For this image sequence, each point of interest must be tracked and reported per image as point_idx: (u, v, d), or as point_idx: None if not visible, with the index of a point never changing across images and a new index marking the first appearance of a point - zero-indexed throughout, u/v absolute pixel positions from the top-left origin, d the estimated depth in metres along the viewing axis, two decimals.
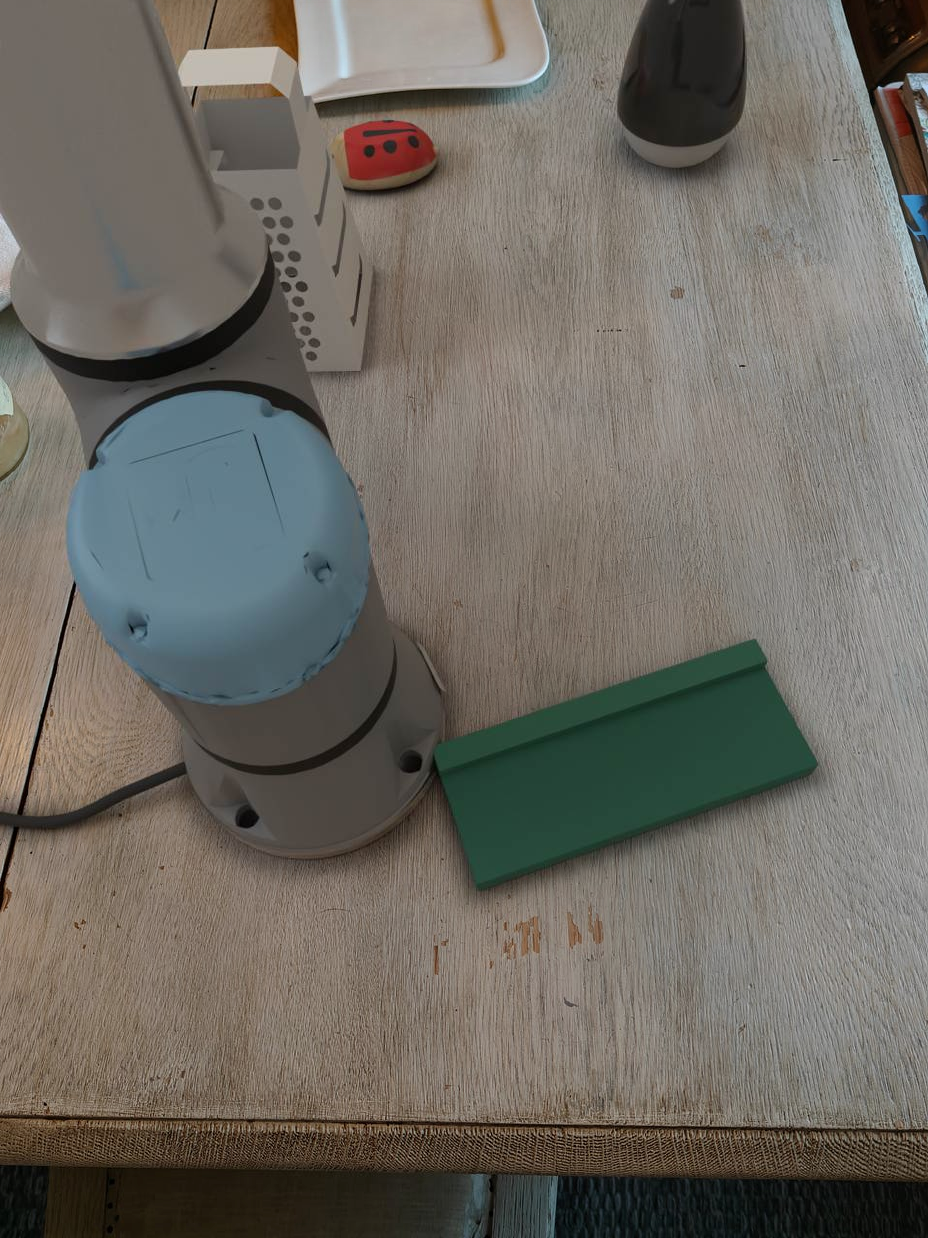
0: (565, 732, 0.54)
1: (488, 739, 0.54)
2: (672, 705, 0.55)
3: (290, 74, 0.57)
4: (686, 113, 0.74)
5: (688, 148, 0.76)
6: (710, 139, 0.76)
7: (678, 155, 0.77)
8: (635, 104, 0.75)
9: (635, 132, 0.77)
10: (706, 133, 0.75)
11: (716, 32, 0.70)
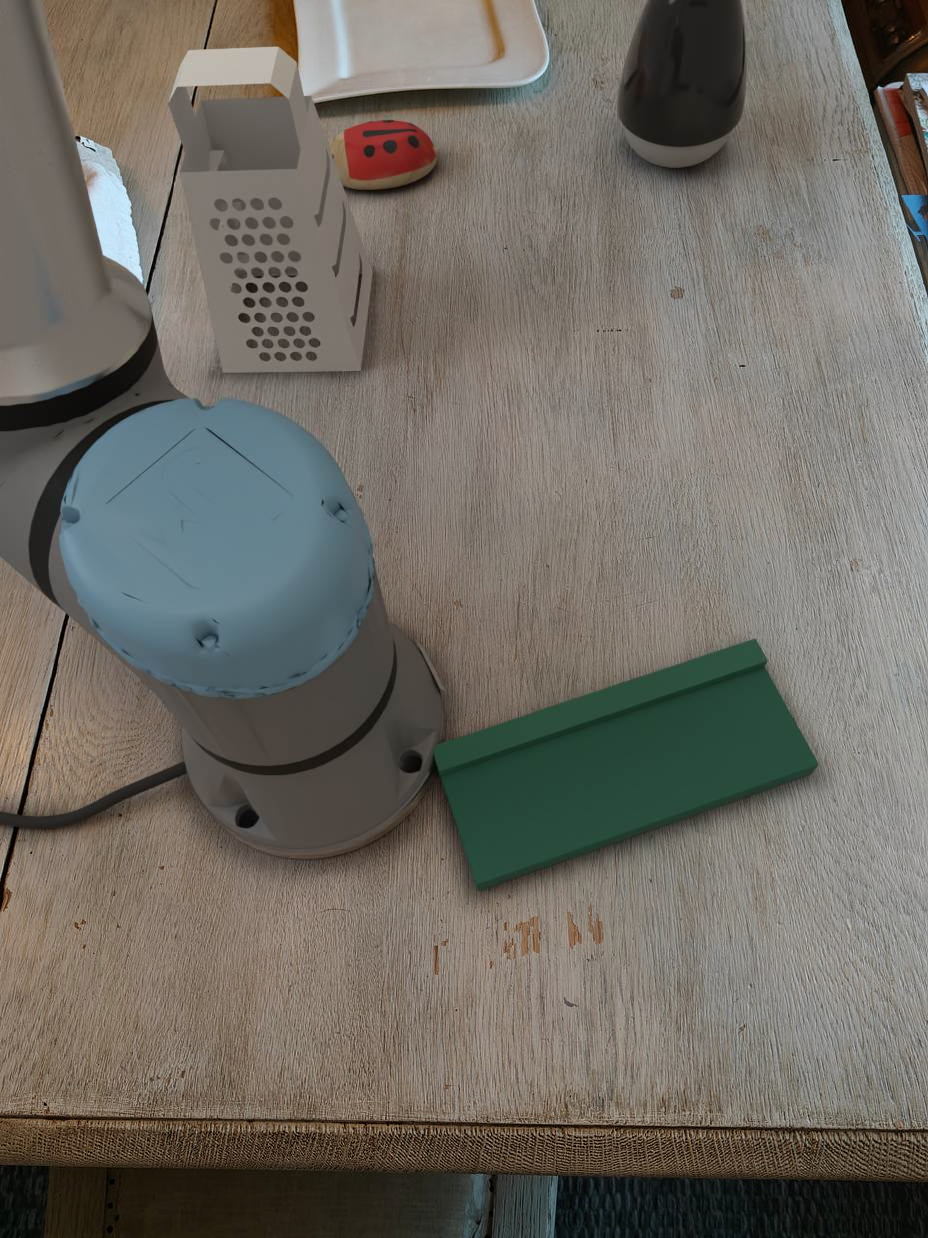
0: (565, 732, 0.54)
1: (488, 739, 0.54)
2: (672, 705, 0.55)
3: (290, 74, 0.57)
4: (686, 113, 0.74)
5: (688, 148, 0.76)
6: (710, 139, 0.76)
7: (678, 155, 0.77)
8: (635, 104, 0.75)
9: (635, 132, 0.77)
10: (706, 133, 0.75)
11: (716, 32, 0.70)
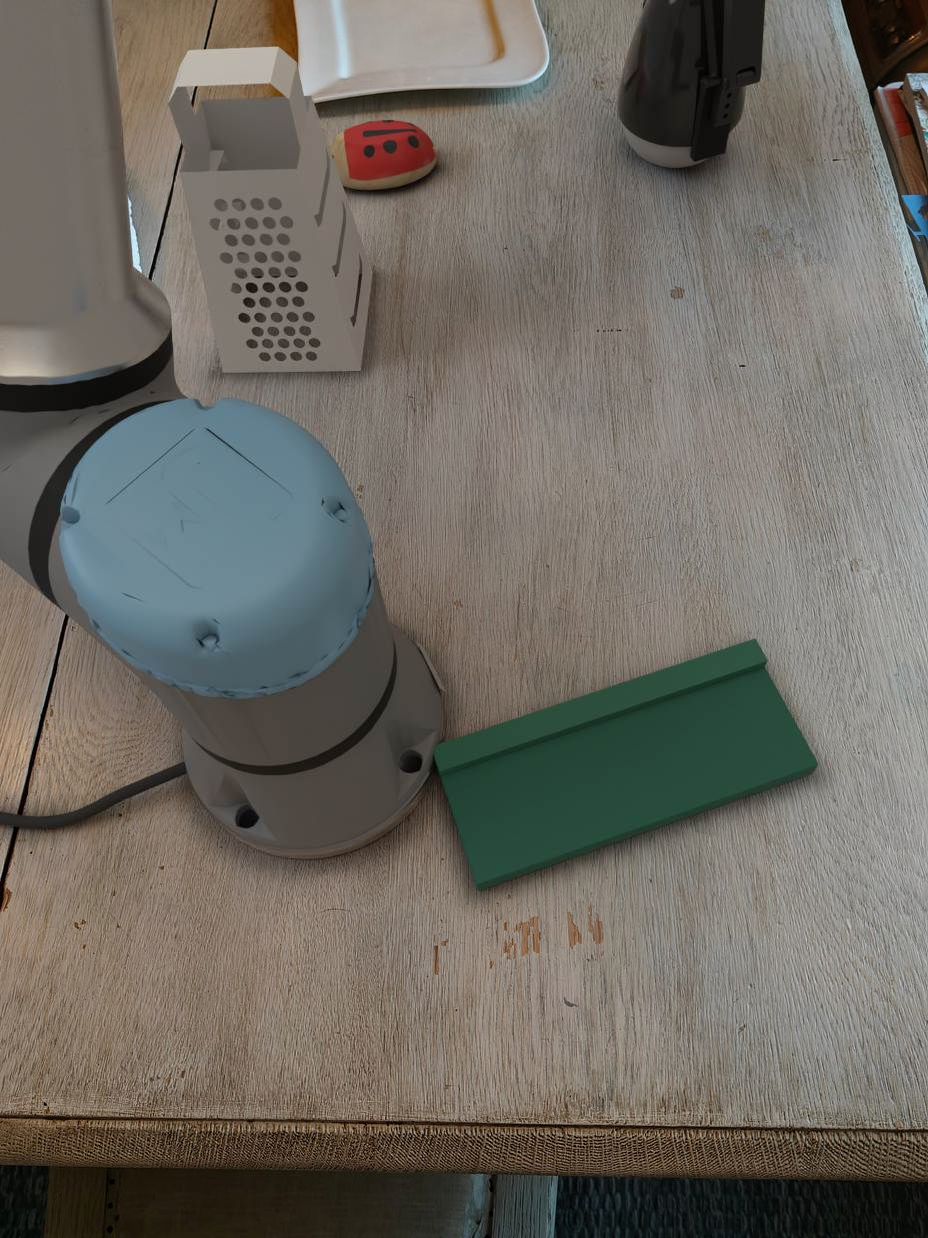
0: (565, 732, 0.54)
1: (488, 739, 0.54)
2: (672, 705, 0.55)
3: (290, 74, 0.57)
4: (686, 113, 0.74)
5: (688, 148, 0.76)
6: None
7: (678, 155, 0.77)
8: (635, 104, 0.75)
9: (635, 132, 0.77)
10: None
11: None
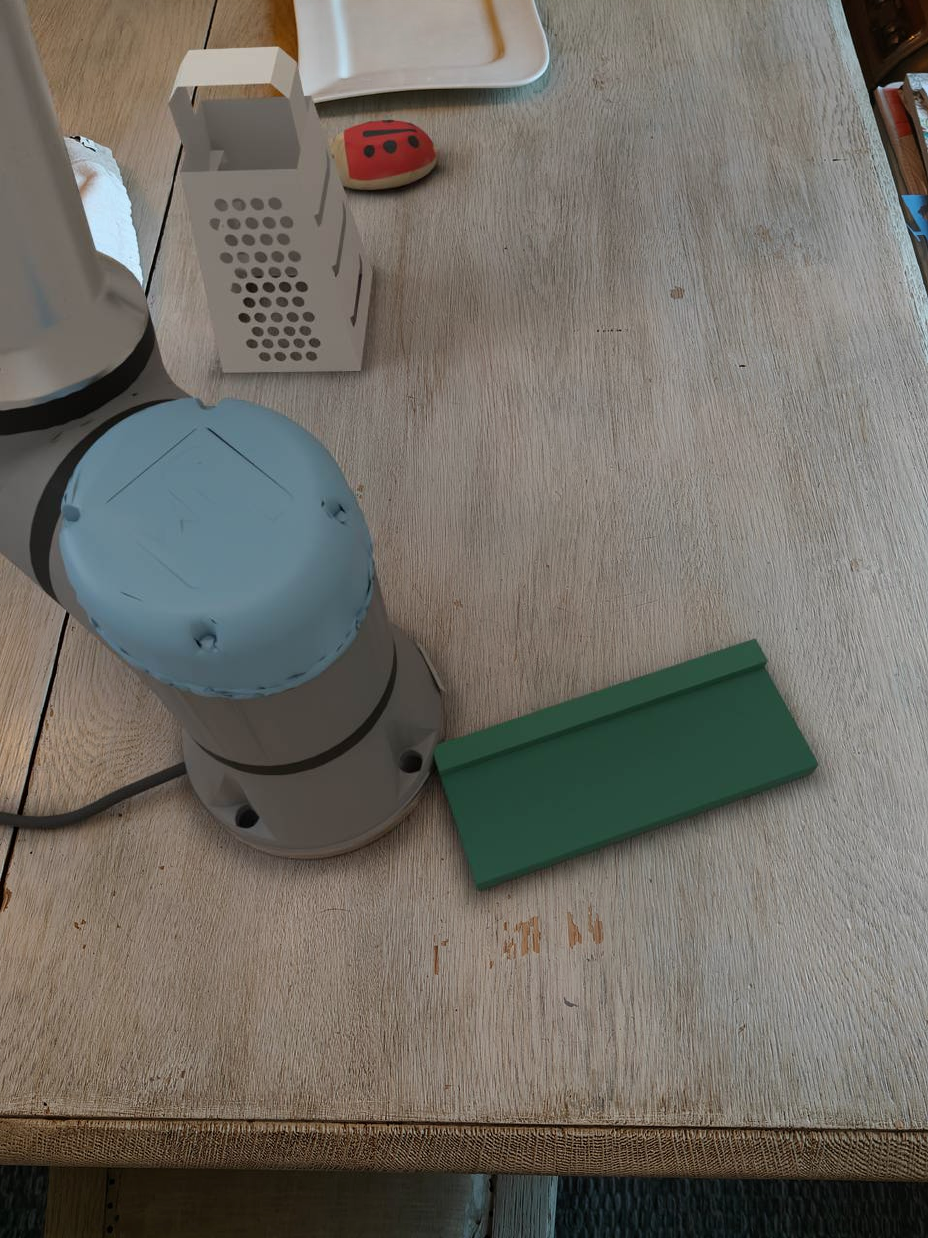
0: (565, 732, 0.54)
1: (488, 739, 0.54)
2: (672, 705, 0.55)
3: (290, 74, 0.57)
4: None
5: None
6: None
7: None
8: None
9: None
10: None
11: None
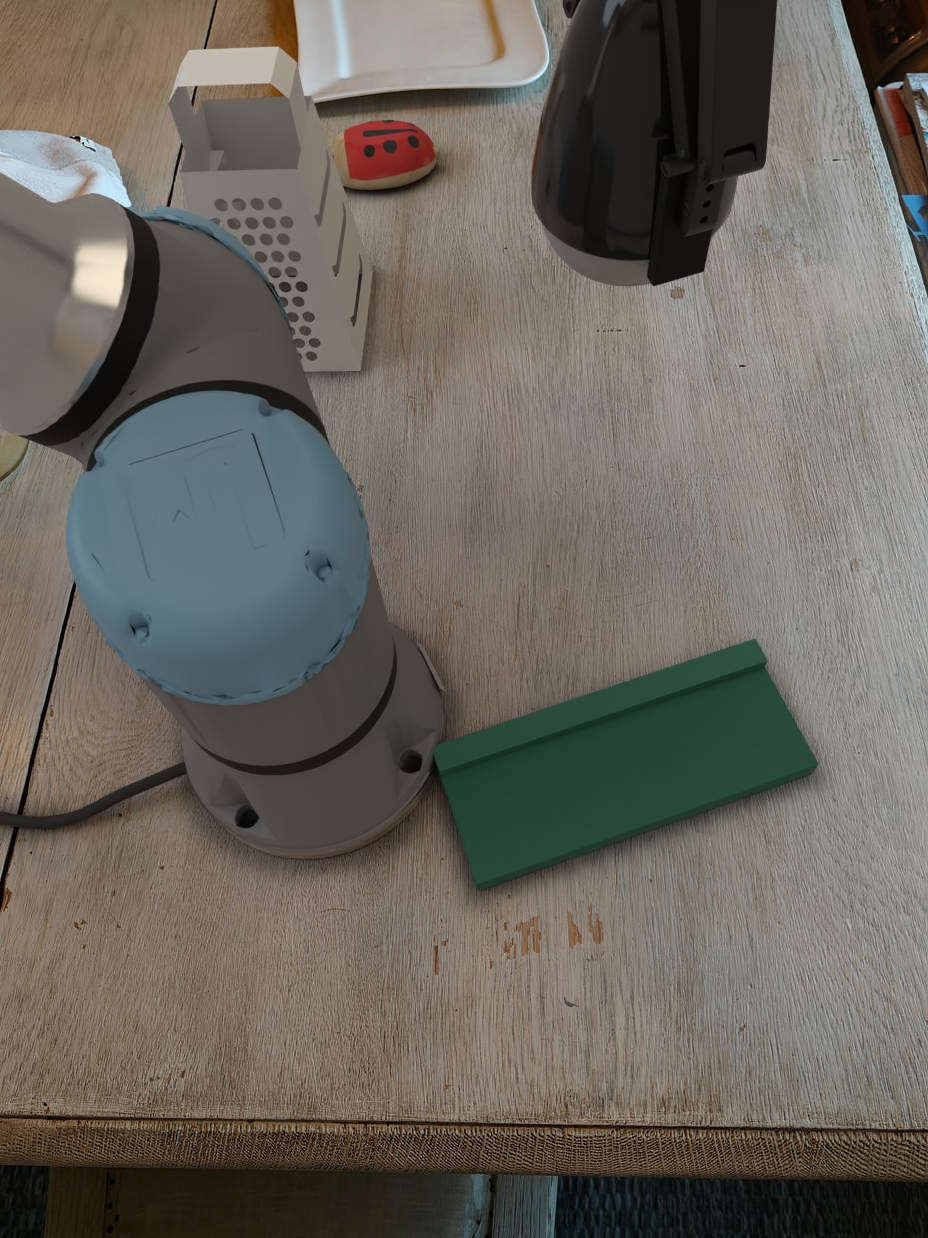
0: (565, 732, 0.54)
1: (488, 739, 0.54)
2: (672, 705, 0.55)
3: (290, 74, 0.57)
4: (639, 211, 0.44)
5: (645, 262, 0.47)
6: None
7: (629, 272, 0.47)
8: (556, 193, 0.45)
9: (558, 235, 0.47)
10: None
11: None
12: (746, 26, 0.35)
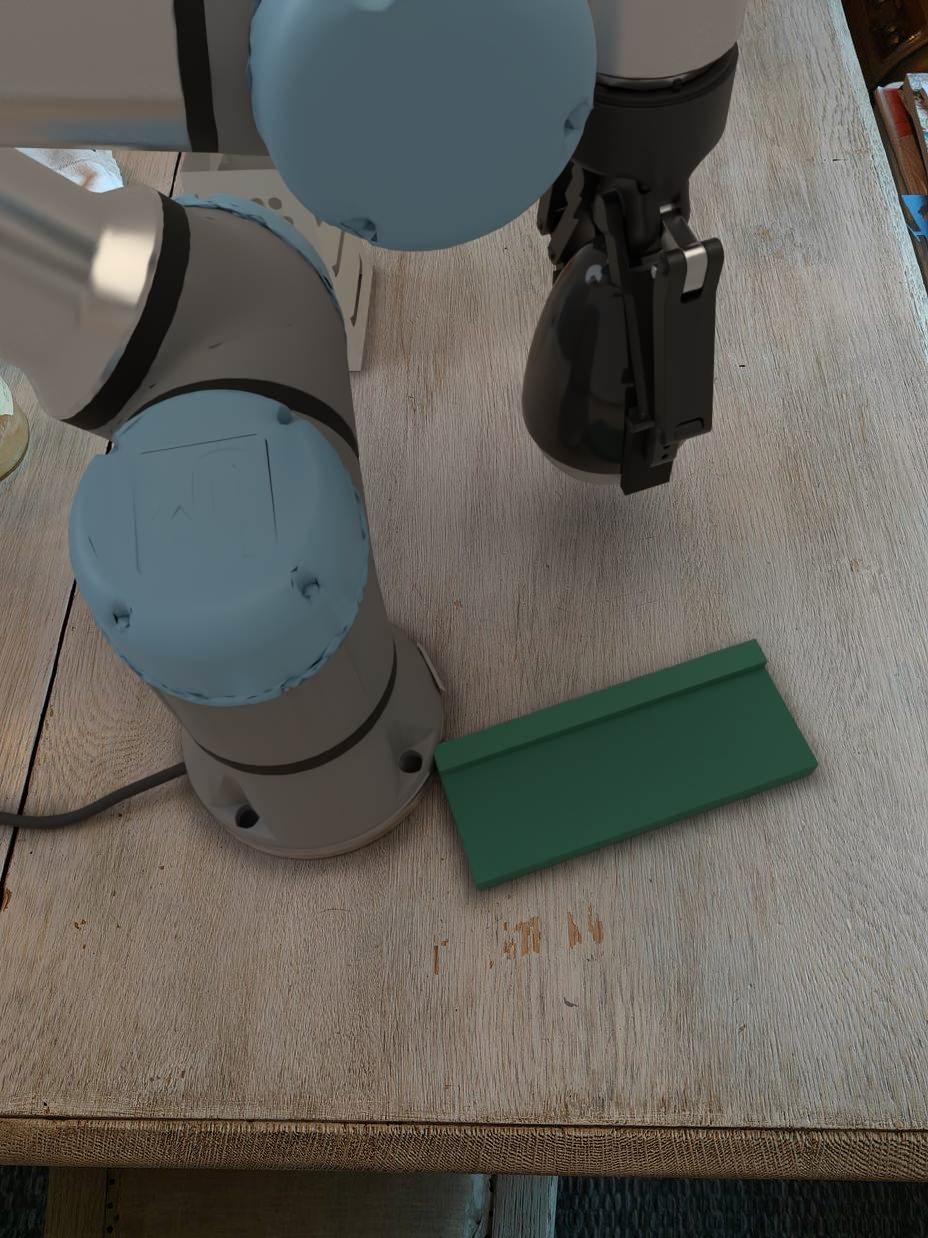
0: (565, 732, 0.54)
1: (488, 739, 0.54)
2: (672, 705, 0.55)
3: None
4: (611, 442, 0.52)
5: (618, 474, 0.54)
6: None
7: (605, 480, 0.55)
8: (541, 419, 0.53)
9: (544, 449, 0.55)
10: None
11: None
12: (690, 340, 0.42)
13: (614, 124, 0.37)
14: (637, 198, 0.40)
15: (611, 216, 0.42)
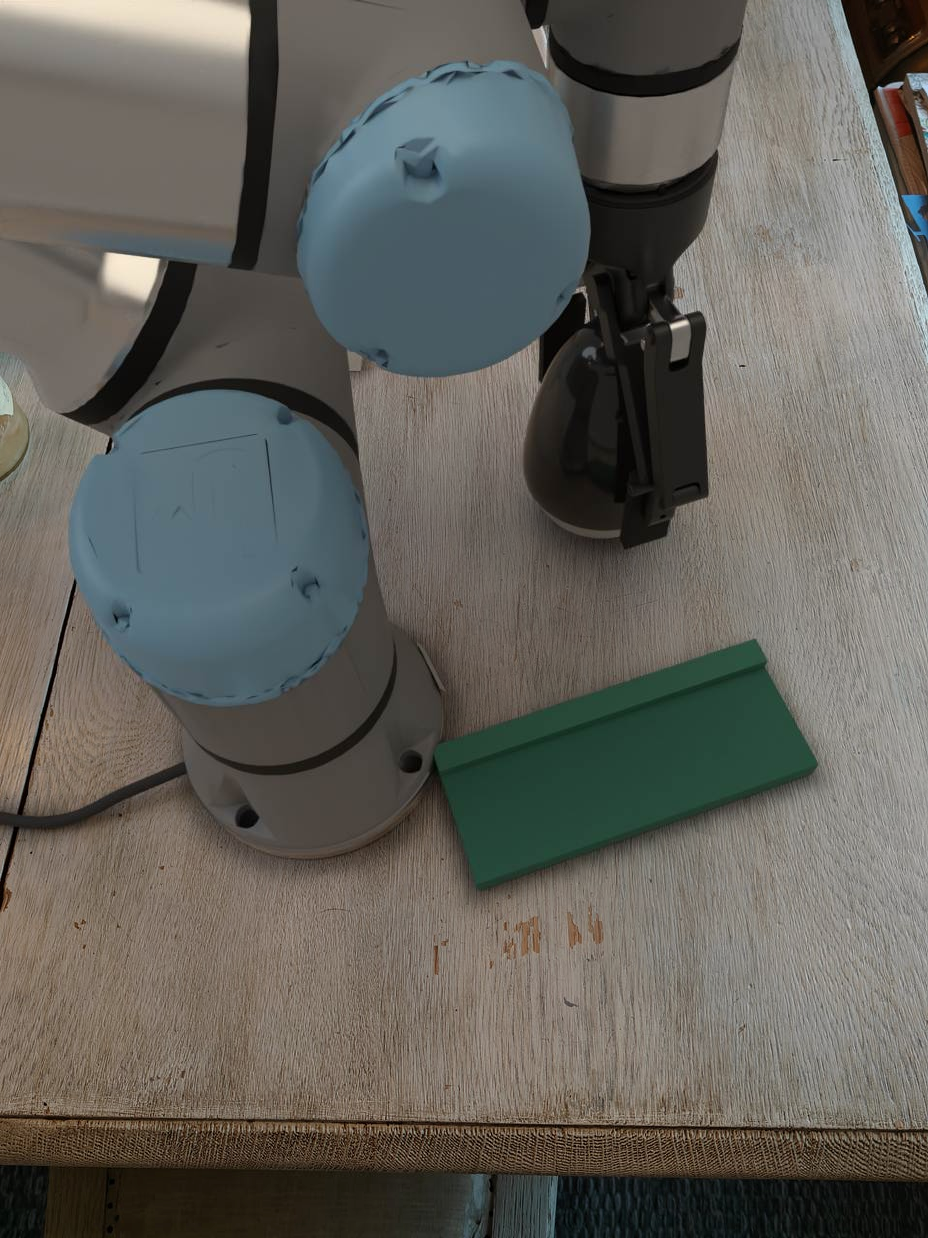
0: (565, 732, 0.54)
1: (488, 739, 0.54)
2: (672, 705, 0.55)
3: None
4: (604, 503, 0.56)
5: None
6: None
7: (599, 534, 0.60)
8: (541, 481, 0.58)
9: (543, 507, 0.59)
10: None
11: None
12: (681, 407, 0.45)
13: (605, 222, 0.41)
14: (625, 282, 0.44)
15: (602, 295, 0.46)
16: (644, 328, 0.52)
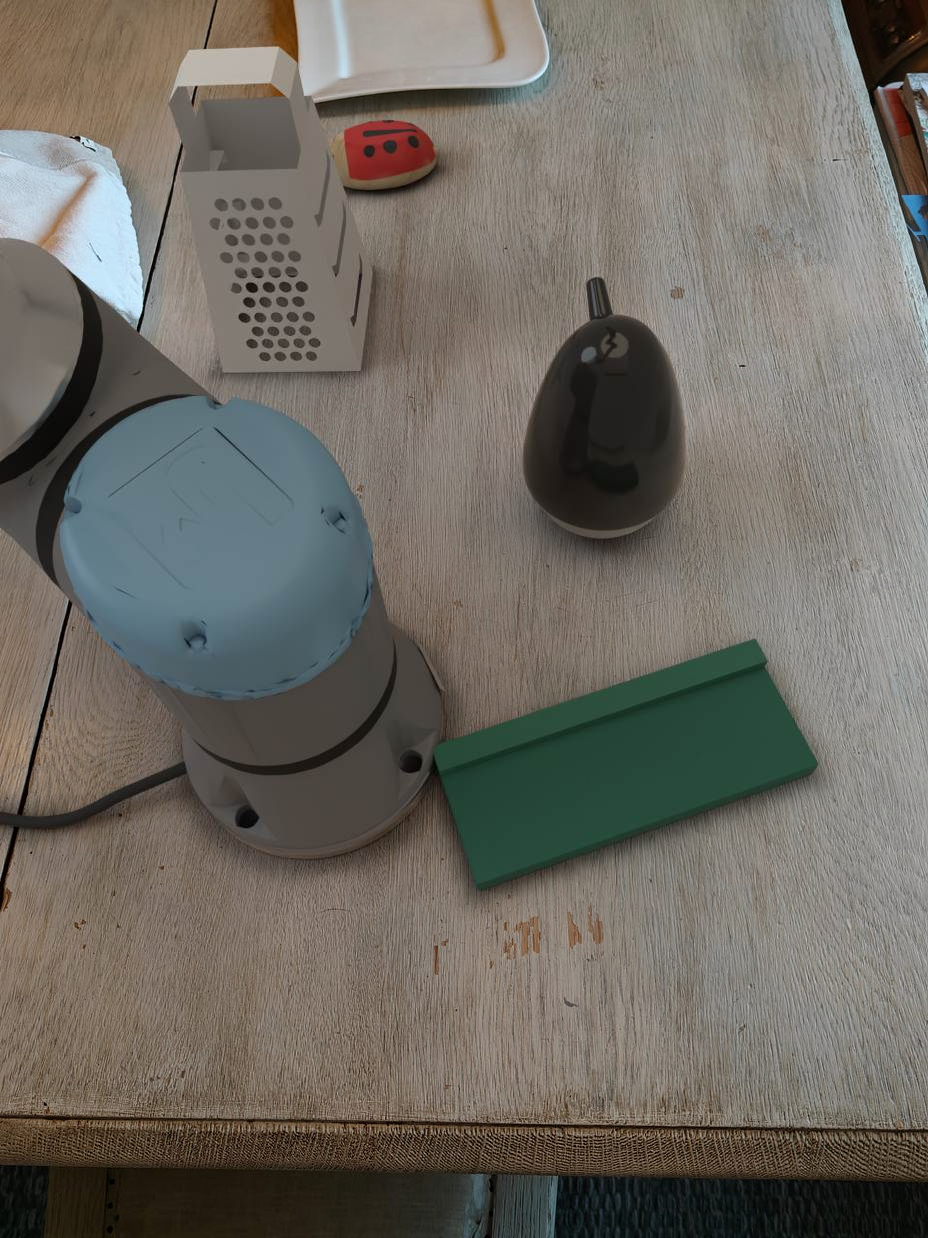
0: (565, 732, 0.54)
1: (488, 739, 0.54)
2: (672, 705, 0.55)
3: (290, 74, 0.57)
4: (604, 503, 0.56)
5: None
6: (639, 522, 0.58)
7: (599, 534, 0.60)
8: (541, 481, 0.58)
9: (543, 507, 0.59)
10: (633, 519, 0.58)
11: (638, 424, 0.53)
12: None
13: None
14: None
15: None
16: (644, 328, 0.52)
